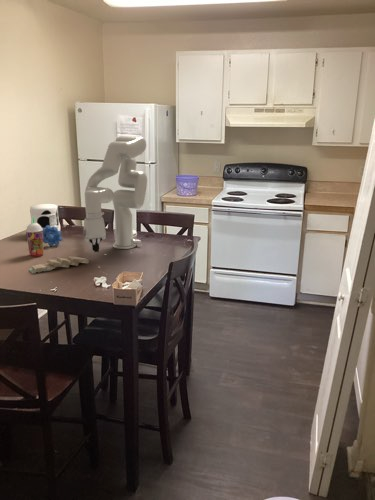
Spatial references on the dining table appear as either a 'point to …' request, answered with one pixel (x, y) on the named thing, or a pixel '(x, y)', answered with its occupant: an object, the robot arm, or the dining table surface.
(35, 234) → the smoothie
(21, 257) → the dining table surface
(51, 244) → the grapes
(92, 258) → the dining table surface
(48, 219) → the milk container
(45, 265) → the domino
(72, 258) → the domino
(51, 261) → the domino
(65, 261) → the domino
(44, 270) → the domino
